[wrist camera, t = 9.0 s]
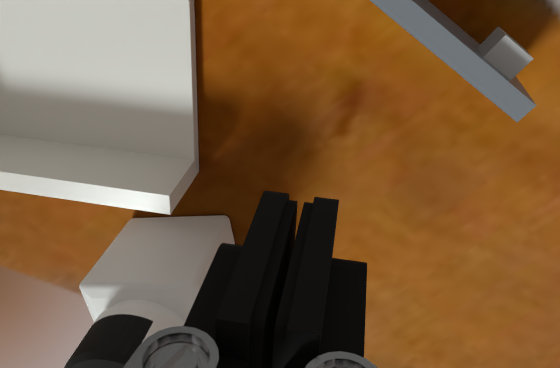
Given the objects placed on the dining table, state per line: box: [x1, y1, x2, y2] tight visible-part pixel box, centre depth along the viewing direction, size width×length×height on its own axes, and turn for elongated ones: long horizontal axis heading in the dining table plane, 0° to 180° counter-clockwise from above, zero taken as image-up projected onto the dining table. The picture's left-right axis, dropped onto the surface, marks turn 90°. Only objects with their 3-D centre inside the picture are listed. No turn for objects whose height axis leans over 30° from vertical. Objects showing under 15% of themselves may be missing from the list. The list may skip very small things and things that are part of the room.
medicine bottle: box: [64, 215, 235, 368], centre depth 30 cm, size 7×7×12 cm
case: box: [0, 0, 199, 215], centre depth 26 cm, size 18×15×5 cm
